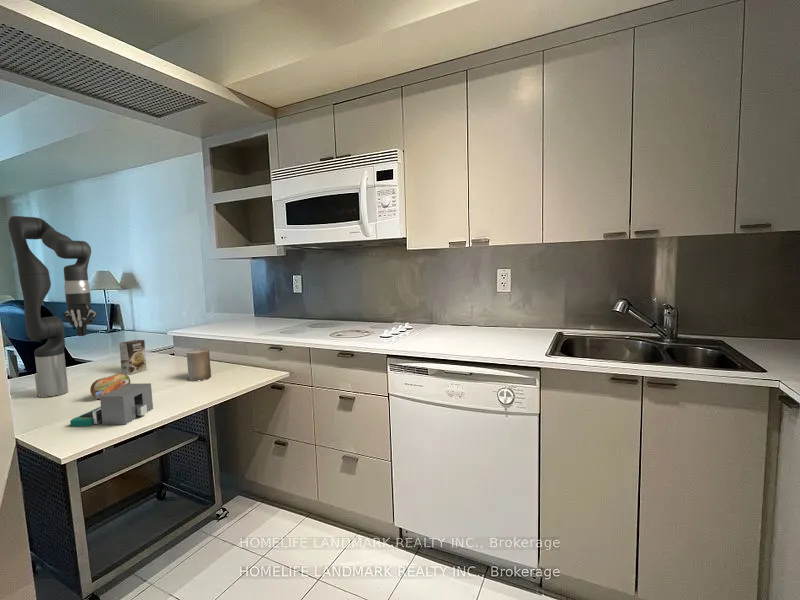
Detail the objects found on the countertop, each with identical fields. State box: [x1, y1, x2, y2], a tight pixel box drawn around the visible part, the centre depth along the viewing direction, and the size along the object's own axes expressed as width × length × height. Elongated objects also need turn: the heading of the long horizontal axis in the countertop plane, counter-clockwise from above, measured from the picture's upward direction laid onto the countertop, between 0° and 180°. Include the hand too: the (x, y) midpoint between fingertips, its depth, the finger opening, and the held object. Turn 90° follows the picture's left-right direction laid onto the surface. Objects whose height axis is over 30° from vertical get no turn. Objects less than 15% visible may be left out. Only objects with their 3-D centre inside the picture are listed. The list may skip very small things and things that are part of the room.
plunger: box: [93, 404, 148, 425], centre depth 141 cm, size 13×21×4 cm, turn 178°
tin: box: [89, 373, 131, 400], centre depth 161 cm, size 15×3×8 cm, turn 162°
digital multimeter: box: [69, 406, 101, 427], centre depth 137 cm, size 7×15×3 cm, turn 177°
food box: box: [119, 339, 148, 375], centre depth 196 cm, size 9×6×16 cm
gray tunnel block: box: [99, 382, 154, 426], centre depth 137 cm, size 8×14×10 cm, turn 178°
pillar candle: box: [185, 347, 212, 382], centre depth 183 cm, size 10×10×15 cm
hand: (82, 335), depth 151 cm, fingers closed
